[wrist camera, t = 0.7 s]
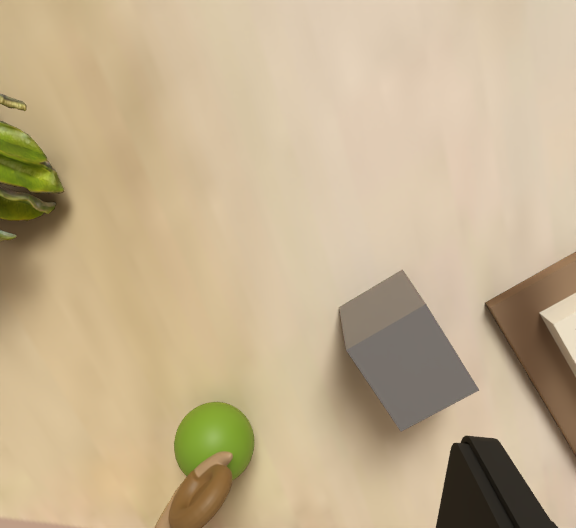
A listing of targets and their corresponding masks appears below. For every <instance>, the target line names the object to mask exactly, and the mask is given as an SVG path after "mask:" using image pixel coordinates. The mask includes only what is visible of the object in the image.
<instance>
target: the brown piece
mask: <svg viewBox="0 0 576 528" xmlns="http://www.w3.org/2000/svg"><path fill="white" fill-rule="evenodd" d="M485 304H486V305H487V307H488V309H489V310H490V312H491V314H492V315H493V317H494V319H495V320H496V322H497V324H498V325H499V327H500V329H501V331H502V332H503V334H504V336H505V337H506V339H507V341H508V342H509V344H510V346H511V347H512V349H513V351H514V352H515V354H516V356H517V358H518V359H519V361H520V363H521V364H522V366H523V368H524V369H525V371H526V373H527V374H528V376H529V378H530V380H531V381H532V383H533V385H534V386H535V388H536V390H537V391H538V393H539V395H540V396H541V398H542V400H543V401H544V403H545V405H546V407H547V408H548V410H549V412H550V413H551V415H552V417H553V418H554V420H555V422H556V423H557V425H558V427H559V428H560V430H561V432H562V434H563V435H564V437H565V439H566V440H567V442H568V444H569V445H570V447H571V449H572V450H573V452H574V454H575V456H576V252H575V253H573V254H571V255H569V256H567V257H566V258H564V259H562V260H560V261H559V262H557V263H555V264H553V265H551V266H550V267H548V268H546V269H544V270H543V271H541V272H539V273H537V274H535V275H534V276H532V277H530V278H528V279H527V280H525V281H523V282H521V283H519V284H518V285H516V286H514V287H512V288H511V289H509V290H507V291H505V292H504V293H502V294H500V295H498V296H496V297H495V298H493V299H491V300H489V301H488V302H486V303H485Z"/></svg>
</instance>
